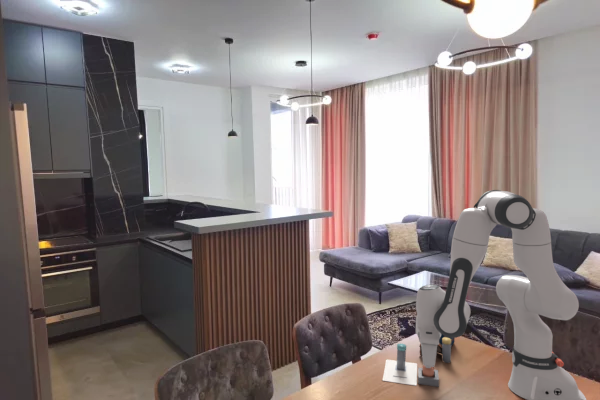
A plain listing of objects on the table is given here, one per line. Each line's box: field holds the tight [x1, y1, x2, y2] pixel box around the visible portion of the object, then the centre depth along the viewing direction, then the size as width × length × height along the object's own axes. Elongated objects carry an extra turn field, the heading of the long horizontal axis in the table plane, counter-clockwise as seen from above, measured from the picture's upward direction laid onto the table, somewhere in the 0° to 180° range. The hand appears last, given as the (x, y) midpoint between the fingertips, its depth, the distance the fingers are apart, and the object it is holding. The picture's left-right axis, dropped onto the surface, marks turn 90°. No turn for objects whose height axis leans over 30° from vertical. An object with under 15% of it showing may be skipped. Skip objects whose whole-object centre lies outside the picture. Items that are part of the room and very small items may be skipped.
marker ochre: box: [441, 337, 452, 364], centre depth 152 cm, size 3×3×9 cm
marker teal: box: [396, 343, 407, 370], centre depth 146 cm, size 3×3×9 cm
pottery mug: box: [419, 342, 442, 358], centre depth 157 cm, size 12×10×8 cm
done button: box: [422, 364, 435, 378], centre depth 138 cm, size 4×4×4 cm
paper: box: [382, 359, 418, 387], centre depth 144 cm, size 12×16×1 cm
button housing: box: [417, 367, 440, 388], centre depth 138 cm, size 7×7×2 cm
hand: (427, 366), depth 138 cm, fingers closed
